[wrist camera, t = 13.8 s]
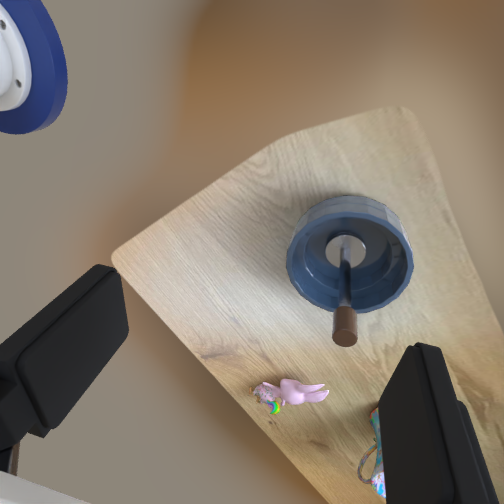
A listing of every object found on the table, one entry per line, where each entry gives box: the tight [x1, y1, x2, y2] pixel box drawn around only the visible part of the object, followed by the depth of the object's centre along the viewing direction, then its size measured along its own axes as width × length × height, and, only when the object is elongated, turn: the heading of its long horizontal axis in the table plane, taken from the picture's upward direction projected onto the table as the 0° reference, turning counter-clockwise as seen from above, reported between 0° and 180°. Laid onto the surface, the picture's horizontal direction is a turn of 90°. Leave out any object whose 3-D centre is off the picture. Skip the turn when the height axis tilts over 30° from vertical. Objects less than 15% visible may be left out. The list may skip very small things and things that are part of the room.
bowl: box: [286, 195, 414, 314], centre depth 37 cm, size 13×13×5 cm
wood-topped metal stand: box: [325, 231, 366, 347], centre depth 32 cm, size 5×5×15 cm
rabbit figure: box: [248, 379, 329, 415], centre depth 53 cm, size 6×6×15 cm
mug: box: [358, 408, 386, 498], centre depth 49 cm, size 12×9×11 cm
